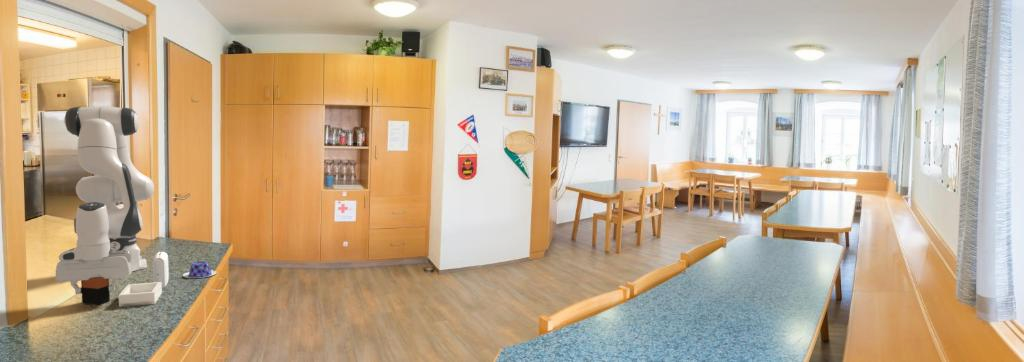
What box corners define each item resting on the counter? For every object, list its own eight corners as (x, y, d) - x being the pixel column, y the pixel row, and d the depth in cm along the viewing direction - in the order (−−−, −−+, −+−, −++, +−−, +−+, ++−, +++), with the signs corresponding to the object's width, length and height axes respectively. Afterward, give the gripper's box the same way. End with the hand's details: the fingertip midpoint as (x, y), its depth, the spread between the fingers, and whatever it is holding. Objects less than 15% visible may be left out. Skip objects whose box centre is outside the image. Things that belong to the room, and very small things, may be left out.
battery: (99, 305, 181) (97, 276, 180) (81, 303, 182) (79, 274, 181) (110, 301, 185) (109, 272, 184) (93, 299, 186) (91, 271, 185)
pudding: (185, 281, 211) (184, 268, 211) (180, 274, 220) (180, 261, 220) (219, 276, 219) (219, 264, 218) (213, 270, 228) (213, 258, 228)
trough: (128, 295, 192) (128, 284, 191) (161, 292, 196) (161, 281, 195) (119, 307, 180) (118, 295, 179) (154, 303, 184) (154, 292, 183)
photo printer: (165, 287, 201) (164, 255, 200) (152, 289, 200) (150, 255, 198) (169, 280, 211) (169, 249, 210) (156, 281, 209) (155, 249, 208)
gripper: (133, 247, 189) (134, 286, 190) (59, 251, 180) (61, 292, 182) (128, 251, 183) (130, 291, 184) (52, 255, 175) (54, 297, 176)
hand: (95, 292), depth 183 cm, fingers closed on battery, 8 cm apart
